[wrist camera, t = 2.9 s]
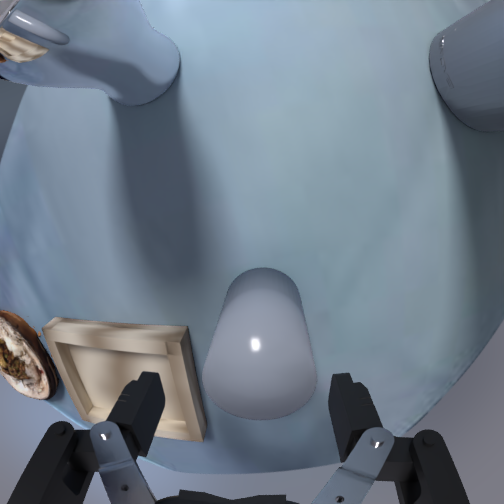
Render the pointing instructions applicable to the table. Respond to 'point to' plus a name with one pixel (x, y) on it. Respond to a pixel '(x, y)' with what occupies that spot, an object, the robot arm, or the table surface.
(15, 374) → the stuffed round slice
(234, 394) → the grey rounded cylinder
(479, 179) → the table surface
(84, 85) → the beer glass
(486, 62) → the robot arm
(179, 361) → the birch tray
